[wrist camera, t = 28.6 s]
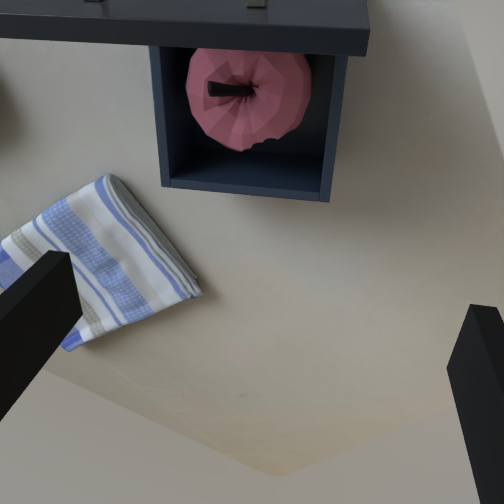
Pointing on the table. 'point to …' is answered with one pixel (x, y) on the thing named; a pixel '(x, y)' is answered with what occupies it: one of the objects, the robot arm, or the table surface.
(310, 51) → the lid
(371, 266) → the table surface
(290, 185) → the blue storage box
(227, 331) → the table surface
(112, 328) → the dish towel
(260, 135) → the apple
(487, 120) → the table surface
